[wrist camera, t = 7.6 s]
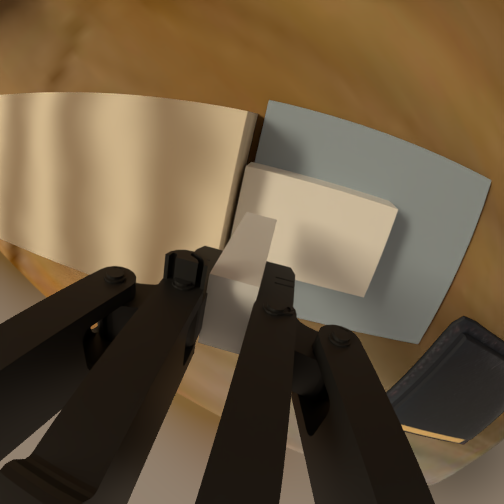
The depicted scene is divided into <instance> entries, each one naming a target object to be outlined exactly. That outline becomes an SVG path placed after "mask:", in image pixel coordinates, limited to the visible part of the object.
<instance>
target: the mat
mask: <svg viewBox="0 0 504 504" xmlns="http://www.w3.org/2000/svg"><path fill="white" fill-rule="evenodd" d="M255 163H259V164H263V165H267V166H271V167H275V168H279V169H283V170H287V171H290V172H294V173H298V174H302V175H305V176H309V177H313V178H316V179H320V180H323V181H327V182H330V183H334V184H337V185H341V186H344V187H347V188H350V189H354V190H357V191H360V192H363V193H366V194H370V195H373V196H376V197H379V198H382V199H385V200H388V201H390V202H391V203H392V204H393V205H394V206H395V207H396V208H397V209H398V212H397V215H396V217H395V220H394V223H393V226H392V229H391V231H390V234H389V237H388V239H387V242H386V245H385V247H384V250H383V252H382V255H381V257H380V260H379V262H378V265H377V267H376V270H375V272H374V275H373V277H372V279H371V282H370V284H369V286H368V289H367V291H366V293H365V296H364V297H360V296H356V295H352V294H348V293H344V292H340V291H336V290H332V289H328V288H324V287H321V286H317V285H313V284H309V283H305V282H301V281H297V280H295V287H294V304H293V307H294V309H295V310H296V314H297V318H301V319H305V320H309V321H313V322H317V323H321V324H326V325H338V326H342V327H344V328H347V329H349V330H352V331H356V332H361V333H366V334H370V335H375V336H380V337H384V338H389V339H394V340H399V341H404V342H409V343H414V344H418V343H419V342H420V340H421V338H422V337H423V335H424V333H425V332H426V330H427V328H428V326H429V325H430V323H431V321H432V319H433V317H434V316H435V314H436V312H437V310H438V308H439V306H440V304H441V302H442V301H443V299H444V297H445V295H446V293H447V291H448V289H449V287H450V285H451V283H452V280H453V278H454V276H455V274H456V272H457V270H458V268H459V265H460V263H461V261H462V259H463V256H464V254H465V252H466V249H467V247H468V245H469V242H470V240H471V237H472V235H473V232H474V230H475V227H476V224H477V222H478V219H479V216H480V214H481V211H482V208H483V205H484V202H485V199H486V196H487V193H488V190H489V187H490V184H491V180H490V179H488V178H486V177H484V176H482V175H480V174H478V173H476V172H474V171H472V170H470V169H468V168H466V167H464V166H462V165H460V164H458V163H456V162H454V161H451V160H449V159H447V158H445V157H443V156H440V155H438V154H436V153H433V152H431V151H429V150H426V149H424V148H422V147H419V146H417V145H414V144H412V143H409V142H407V141H404V140H402V139H399V138H396V137H394V136H391V135H388V134H386V133H383V132H380V131H377V130H374V129H371V128H368V127H366V126H363V125H359V124H356V123H353V122H350V121H347V120H344V119H340V118H337V117H334V116H330V115H327V114H323V113H320V112H316V111H312V110H309V109H305V108H301V107H297V106H293V105H289V104H285V103H280V102H276V101H271V100H269V102H268V107H267V111H266V115H265V119H264V124H263V128H262V132H261V137H260V141H259V145H258V149H257V154H256V158H255Z"/></svg>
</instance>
